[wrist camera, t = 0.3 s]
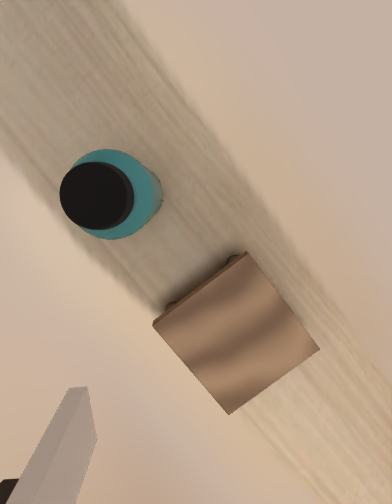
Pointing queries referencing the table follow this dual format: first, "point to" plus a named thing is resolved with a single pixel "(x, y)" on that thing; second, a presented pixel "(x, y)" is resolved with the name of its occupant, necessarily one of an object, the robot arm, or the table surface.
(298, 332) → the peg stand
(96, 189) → the beverage bottle
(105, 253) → the table surface
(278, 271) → the table surface
